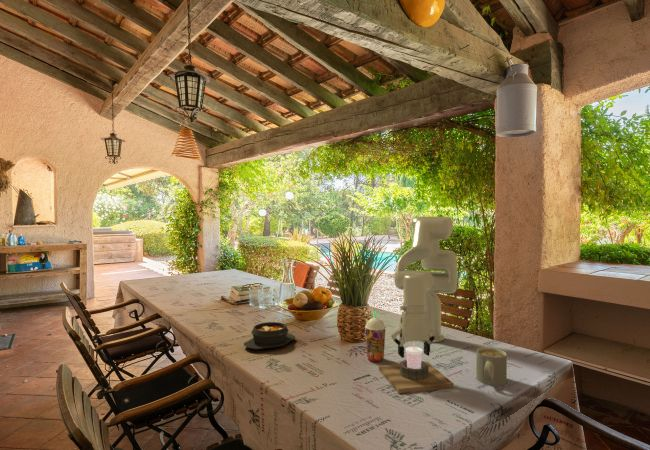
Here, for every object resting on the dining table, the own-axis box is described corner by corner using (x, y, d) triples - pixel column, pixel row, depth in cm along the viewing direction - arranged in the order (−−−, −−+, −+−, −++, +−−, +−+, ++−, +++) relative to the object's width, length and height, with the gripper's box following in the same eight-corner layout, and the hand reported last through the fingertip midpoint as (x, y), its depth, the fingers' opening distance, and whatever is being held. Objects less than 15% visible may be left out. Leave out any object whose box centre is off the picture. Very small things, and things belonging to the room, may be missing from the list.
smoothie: (369, 364, 157) (369, 314, 156) (362, 357, 165) (361, 309, 164) (389, 362, 159) (389, 312, 158) (380, 355, 167) (380, 307, 166)
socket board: (378, 369, 152) (378, 356, 151) (427, 365, 156) (427, 352, 155) (398, 393, 132) (398, 378, 132) (453, 387, 136) (453, 373, 136)
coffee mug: (483, 371, 149) (483, 345, 149) (510, 379, 142) (510, 351, 142) (467, 383, 139) (467, 355, 139) (496, 392, 133) (496, 362, 132)
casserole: (259, 357, 166) (259, 337, 166) (235, 346, 179) (235, 328, 179) (304, 342, 184) (304, 324, 183) (279, 334, 197) (278, 317, 196)
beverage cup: (410, 378, 140) (410, 339, 140) (402, 371, 146) (402, 334, 146) (426, 376, 142) (425, 337, 141) (417, 369, 148) (417, 332, 147)
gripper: (395, 312, 138) (395, 361, 138) (441, 309, 141) (441, 357, 142) (387, 307, 145) (387, 353, 146) (431, 304, 148) (431, 350, 149)
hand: (414, 355), depth 144 cm, fingers open, 9 cm apart
